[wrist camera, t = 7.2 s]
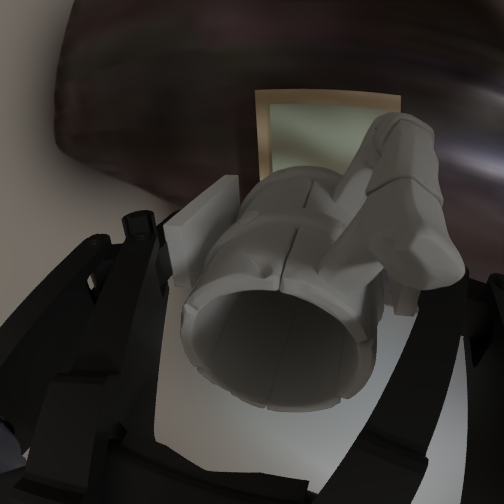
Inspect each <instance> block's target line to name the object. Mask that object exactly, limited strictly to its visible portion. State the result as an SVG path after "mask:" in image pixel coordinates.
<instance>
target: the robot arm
mask: <svg viewBox="0 0 504 504" xmlns="http://www.w3.org/2000/svg"><path fill="white" fill-rule="evenodd" d="M239 209H240V195H239V178H238V175H224V176H223V177H222V178H220V179H219V180H218V181H217V182H215V183H214V184H213V185H211V186H210V187H209V188H208V189H206V190H205V191H204V192H203V193H201V194H200V195H199V196H198V197H196V198H195V199H194V200H193V201H192V202H190V203H189V204H188V205H187V206H185V207H184V208H183V209H180V210H178V211H176V212H173V213H172V214H171V215H169V216H168V217H167V218H166V219H164V220H163V222H161V223H160V224H159V225H157V226H156V223H155V217H154V213H153V212H152V211H149V210H141V211H136V212H132V213H130V214H127V215H126V216H124V217H123V218H122V223H123V228H124V232H125V236H126V239H125V241H124V243H122V244H111V240H110V236H109V235H107V234H95V235H92V236H90V237H89V238H87V239H85V240H84V241H83V242H82V243H81V244H79V245H78V246H77V247H76V248H75V249H74V250H73V251H72V252H71V253H70V254H69V255H68V256H67V257H66V258H65V259H64V260H63V261H62V262H61V263H60V264H59V265H57V267H56V268H54V270H53V271H51V272H50V273H49V274H48V275H47V277H46V278H45V279H44V280H43V281H42V282H41V283H40V284H39V285H38V286H37V287H36V288H35V289H34V290H33V291H32V292H31V293H30V294H29V296H27V297H26V299H25V300H24V301H23V302H22V303H21V304H20V305H19V306H18V307H17V309H16V310H15V311H14V312H13V313H12V314H11V315H10V317H9V318H8V319H7V320H6V321H5V322H4V323H3V325H2V326H1V327H0V504H411V501H412V500H413V498H414V496H415V494H416V492H417V490H418V487H419V485H420V484H421V481H422V479H423V477H424V475H425V472H426V469H427V466H428V458H427V457H426V452H427V449H428V446H429V443H430V441H431V438H432V436H433V433H434V430H435V428H436V425H437V422H438V419H439V416H440V413H441V410H442V406H443V404H444V400H445V397H446V394H447V391H448V387H449V383H450V379H451V376H452V372H453V368H454V364H455V360H456V355H457V351H458V346H459V341H460V336H464V338H463V340H464V350H465V360H466V373H467V392H468V394H467V395H468V433H467V451H466V464H465V474H464V482H463V490H462V496H461V503H460V504H504V275H502V274H498V273H494V274H491V275H490V276H489V278H488V281H487V283H483V282H480V281H477V280H474V279H471V278H469V270H468V268H467V267H466V266H465V265H464V266H465V274H464V276H463V277H462V278H461V279H460V280H459V281H457V282H456V283H454V284H452V285H450V286H446V287H439V288H436V289H431V290H419V289H416V288H414V287H411V286H406V285H402V284H400V283H399V282H397V281H396V280H395V279H394V278H393V277H391V276H390V275H389V273H388V275H389V281H390V287H391V293H392V300H393V307H394V314H395V315H403V316H414V314H415V311H416V308H417V305H418V306H419V312H418V315H417V318H416V320H415V323H414V325H413V328H412V330H411V333H410V335H409V338H408V340H407V342H406V345H405V347H404V349H403V352H402V354H401V356H400V358H399V361H398V363H397V365H396V367H395V369H394V371H393V373H392V375H391V377H390V379H389V381H388V383H387V385H386V387H385V390H384V392H383V394H382V395H381V398H380V399H379V401H378V403H377V405H376V407H375V408H374V410H373V412H372V414H371V416H370V417H369V419H368V421H367V423H366V424H365V426H364V428H363V429H362V431H361V432H360V434H359V435H358V437H357V439H356V440H355V442H354V443H353V445H352V447H351V448H350V449H349V451H348V453H347V454H346V456H345V458H344V459H343V460H342V462H341V463H340V465H339V466H338V467H337V469H336V470H335V472H334V473H333V475H332V476H331V478H330V479H329V480H328V482H327V483H326V484H325V486H324V487H323V489H322V490H321V491H320V492H319V494H316V493H314V492H311V491H308V490H307V488H308V484H309V481H307V480H300V479H292V478H286V477H281V476H275V475H270V474H264V473H238V472H213V471H207V470H204V469H202V468H200V467H199V466H197V465H195V464H194V463H192V462H190V461H189V460H187V459H186V458H184V457H183V456H181V455H179V454H178V453H176V452H175V451H173V450H172V449H170V448H169V447H167V446H166V445H163V444H161V443H158V442H156V440H155V436H154V417H155V405H156V404H155V402H156V393H157V382H158V372H159V363H160V354H161V345H162V338H163V330H164V322H165V315H166V308H167V301H168V295H169V286H168V281H167V280H168V279H169V278H170V276H172V274H173V279H174V284H175V286H176V287H182V288H188V289H192V288H193V286H194V285H195V284H196V282H197V281H198V280H199V278H200V277H201V275H202V273H203V268H204V264H205V260H206V258H207V256H208V254H209V252H210V250H211V248H212V247H213V245H214V244H215V243H216V241H217V240H218V239H219V238H220V237H221V235H222V234H223V233H224V232H225V231H226V230H227V229H228V228H230V227H231V226H232V225H233V224H234V223H235V222H236V220H237V216H238V212H239ZM89 276H91V278H92V281H93V283H94V288H93V289H92V290H91V289H90V288H89V285H88V282H87V279H88V277H89ZM29 447H30V450H29V454H28V459H27V461H26V459H25V458H24V457H23V456H22V455H23V454H24V453H25V452H26V451H27V450H28V449H29Z"/></svg>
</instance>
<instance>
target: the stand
mask: <svg viewBox="0 0 504 504" xmlns="http://www.w3.org/2000/svg"><path fill="white" fill-rule="evenodd" d="M255 102H256V119H257V136H258V153H259V172H260V181H261V180H263V179H264V178H266V177H267V176H269V175H270V174H272V173H273V172H275V171H277V170H281V169H285V168H289V167H294V166H317V167H324V168H328V169H331V170H333V171H335V172H337V173H339V174H341V175H344V174H345V172H346V170H347V169H348V167H349V165H350V163H351V162H352V160H353V158H354V157H355V155H356V153H357V151H358V149H359V147H360V145H361V143H362V141H363V138H364V136H365V134H366V133H367V131H368V129H369V127H370V126H371V124H372V122H373V121H374V120H375V119H376V118H377V117H379V116H381V115H383V114H385V113H388V112H392V111H394V112H397V113H401V96H399V95H391V94H382V93H372V92H361V91H347V90H326V89H270V90H255Z"/></svg>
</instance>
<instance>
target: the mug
mask: <svg viewBox="0 0 504 504" xmlns="http://www.w3.org/2000/svg"><path fill="white" fill-rule="evenodd" d="M433 146H434V132H433V129H432V128H431V127H430V126H429V125H427V124H426V123H424V122H423V121H421V120H419V119H418V118H416V117H414V116H413V115H410V114H406V113H397V112H394V111H392V112H388V113H385V114H383V115H381V116H379V117H377V118H376V119H375V120H374V121H373V122H372V124H371V126H370V127H369V129H368V131H367V133H366V134H365V136H364V138H363V141H362V143H361V145H360V147H359V149H358V151H357V153H356V155H355V157H354V158H353V160H352V162H351V163H350V165H349V167H348V169H347V170H346V172H345V174H344V175H341V174H339V173H337V172H335V171H333V170H331V169H328V168H324V167H317V166H294V167H289V168H285V169H281V170H277V171H275V172H273V173H272V174H270V175H269V176H267V177H266V178H264V179H263V180H261V181H260V182H259V183H258V184H257V185H255V187H254V188H253V189H252V190H251V191H250V192H249V194H248V195H247V196H246V198H245V199H244V201H243V203H242V204H241V207H240V209H239V212H238V216H237V220H236V222H235V223H234V224H233V225H232V226H231V227H230V228H228V229H227V230H226V231H225V232H224V233H223V234H222V235H221V237H220V238H219V239H218V240H217V241H216V243H215V244H214V245H213V247H212V248H211V250H210V252H209V254H208V256H207V258H206V260H205V264H204V268H203V273H202V277H201V278H200V280H199V282H198V283H197V285H196V286H195V288H194V289H193V291H192V292H191V294H190V295H189V297H188V298H187V300H186V302H185V303H184V305H183V308H182V314H181V332H180V335H181V340H182V344H183V347H184V350H185V354H186V355H187V357H188V358H189V360H190V362H191V363H192V365H193V366H195V367H198V368H197V370H198V372H199V373H200V374H202V375H203V376H204V377H205V378H207V379H208V380H209V381H210V382H211V383H213V384H216V385H218V386H220V387H221V388H223V389H225V390H227V391H229V392H230V393H231V394H232V395H234V396H236V397H238V398H239V399H240V400H242V401H244V402H246V403H249V404H251V405H253V406H256V407H259V408H265V407H266V405H267V409H268V410H272V411H278V412H311V411H318V410H324V409H328V408H331V407H333V406H335V405H336V404H339V403H340V402H341V397H342V398H345V399H350V398H352V397H353V396H354V395H355V394H357V393H358V392H359V391H360V390H361V389H362V388H363V387H364V386H365V385H366V383H367V381H368V379H369V378H370V376H371V374H372V372H373V369H374V365H375V361H376V352H377V325H378V322H379V321H380V320H381V318H382V315H383V311H384V288H383V280H382V274H381V270H382V269H383V268H385V270H386V271H387V272H388V273H389V275H390V276H391V277H393V278H394V279H395V280H396V281H397V282H399V283H400V284H402V285H406V286H411V287H414V288H416V289H419V290H431V289H436V288H439V287H446V286H450V285H452V284H454V283H456V282H457V281H459V280H460V279H461V278H462V277H463V276H464V274H465V266H464V263H463V260H462V258H461V256H460V254H459V252H458V250H457V249H456V247H455V246H454V244H453V243H452V241H451V239H450V237H449V235H448V232H447V228H446V223H445V219H444V215H443V212H442V209H441V208H442V204H443V197H442V194H441V190H440V186H439V182H438V167H439V163H438V159H437V156H436V153H435V151H434V150H433Z"/></svg>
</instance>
